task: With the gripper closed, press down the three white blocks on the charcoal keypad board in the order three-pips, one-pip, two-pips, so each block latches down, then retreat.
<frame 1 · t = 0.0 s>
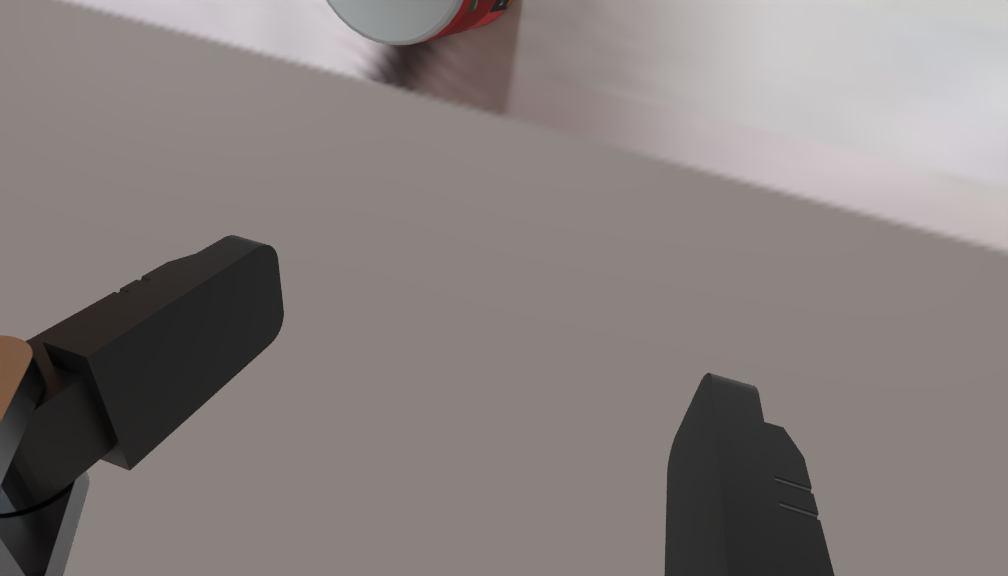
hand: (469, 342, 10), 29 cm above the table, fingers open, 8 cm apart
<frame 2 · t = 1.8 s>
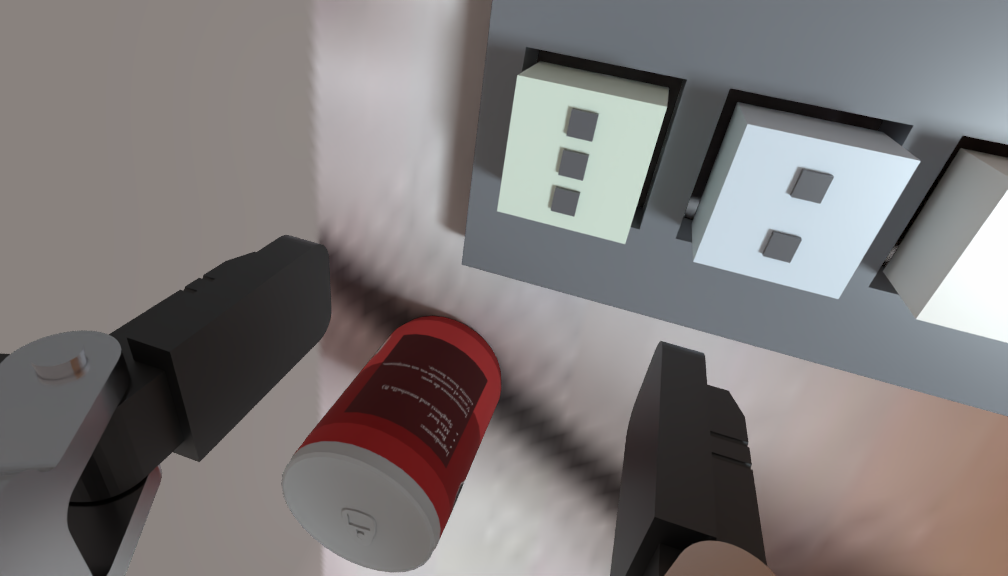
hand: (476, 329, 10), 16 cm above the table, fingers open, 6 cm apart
keypad board: (772, 167, 22), on the table
canned food: (447, 364, 33), on the table
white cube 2: (787, 198, 19), point 4 cm above the table, slide at 0.0 cm
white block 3: (581, 151, 20), point 4 cm above the table, slide at 0.0 cm
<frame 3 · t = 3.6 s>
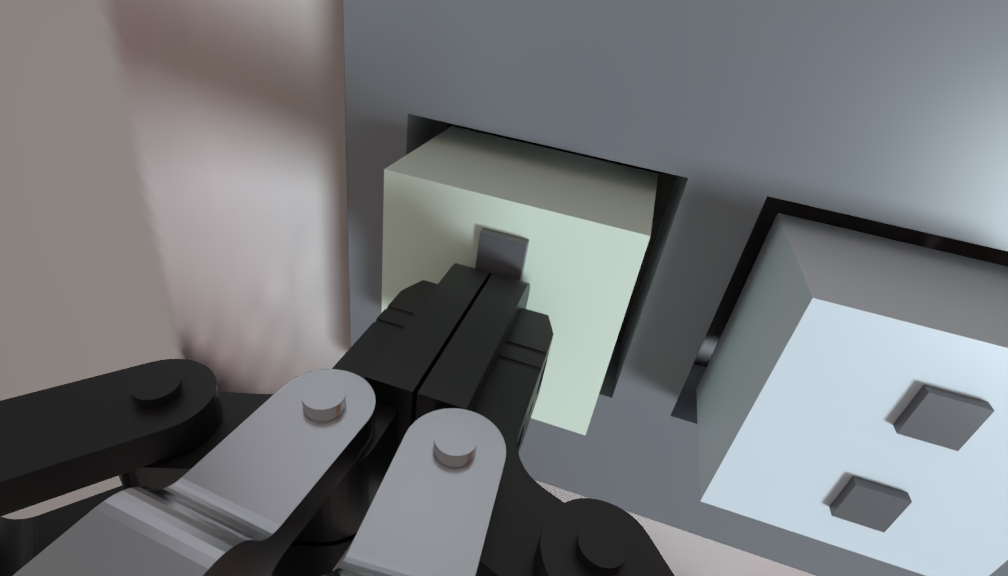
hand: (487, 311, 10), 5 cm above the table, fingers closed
keypad board: (828, 300, 13), on the table
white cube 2: (871, 395, 10), point 4 cm above the table, slide at 0.0 cm
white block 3: (514, 276, 12), point 3 cm above the table, slide at 0.8 cm, touching gripper
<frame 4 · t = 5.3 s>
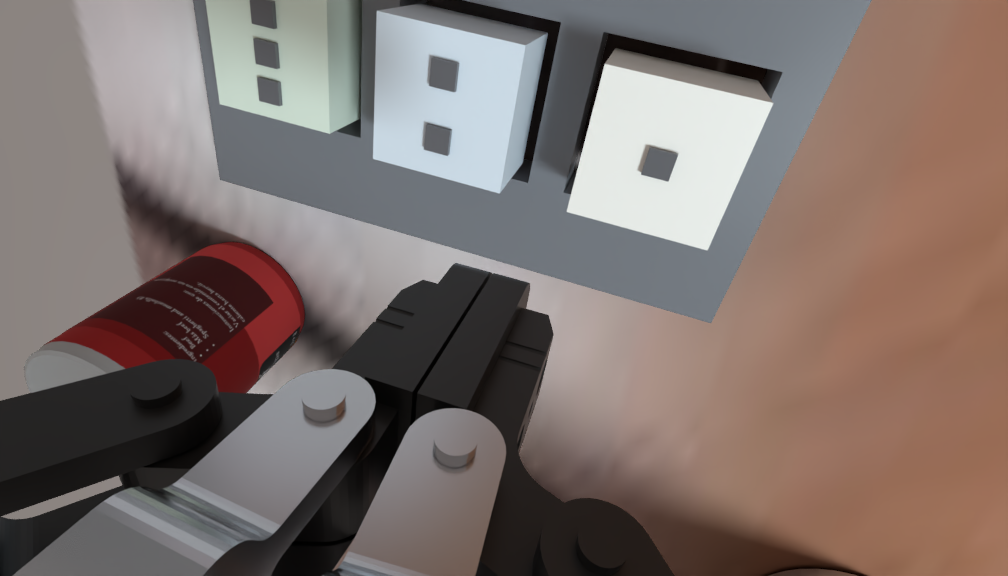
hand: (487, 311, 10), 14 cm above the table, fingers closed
keypad board: (487, 78, 22), on the table
canned food: (256, 293, 33), on the table
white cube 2: (458, 97, 19), point 4 cm above the table, slide at 0.0 cm
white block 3: (294, 47, 21), point 2 cm above the table, slide at 1.2 cm
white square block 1: (660, 148, 18), point 4 cm above the table, slide at 0.0 cm
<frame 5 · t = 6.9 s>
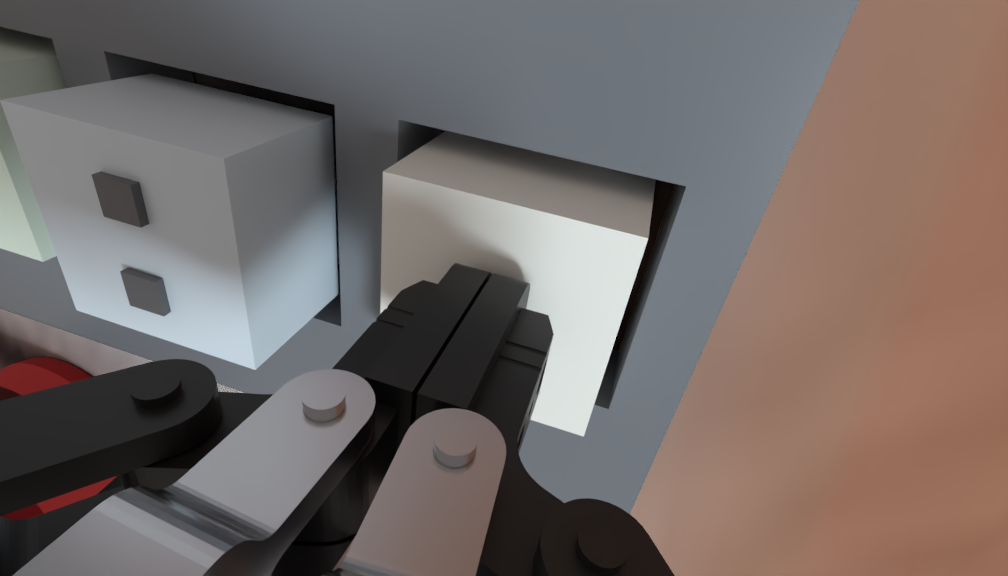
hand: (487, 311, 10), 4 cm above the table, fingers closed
keypad board: (292, 170, 15), on the table
canned food: (90, 413, 26), on the table
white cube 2: (198, 217, 12), point 4 cm above the table, slide at 0.0 cm
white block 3: (0, 135, 15), point 2 cm above the table, slide at 1.2 cm
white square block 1: (513, 277, 12), point 3 cm above the table, slide at 1.1 cm, touching gripper
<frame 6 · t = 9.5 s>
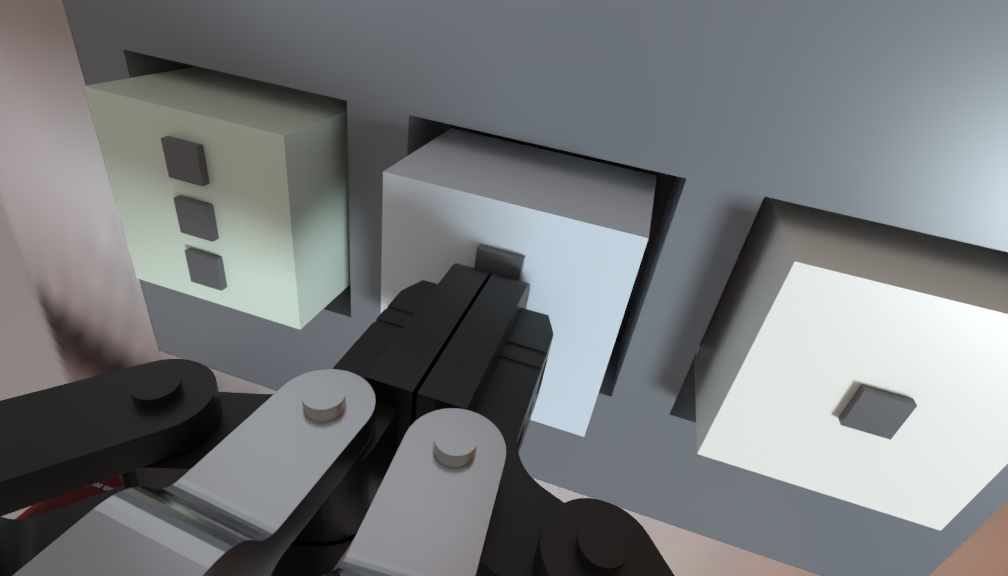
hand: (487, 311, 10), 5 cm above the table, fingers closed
keypad board: (542, 227, 15), on the table
canned food: (227, 454, 26), on the table
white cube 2: (513, 278, 12), point 3 cm above the table, slide at 0.7 cm, touching gripper
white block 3: (247, 193, 14), point 2 cm above the table, slide at 1.2 cm
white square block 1: (851, 357, 11), point 2 cm above the table, slide at 1.2 cm
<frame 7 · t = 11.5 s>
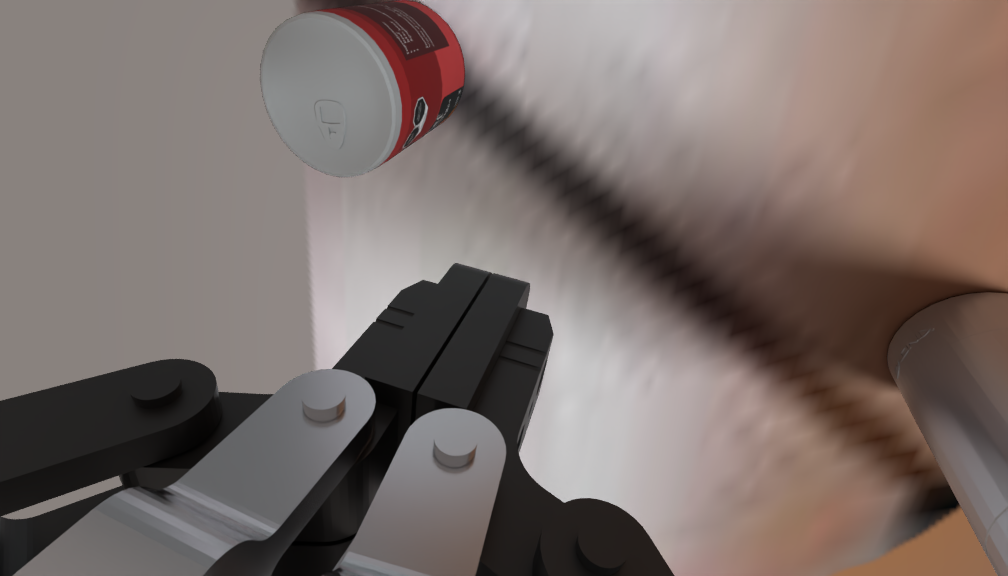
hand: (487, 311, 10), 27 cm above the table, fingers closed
canned food: (416, 66, 35), on the table
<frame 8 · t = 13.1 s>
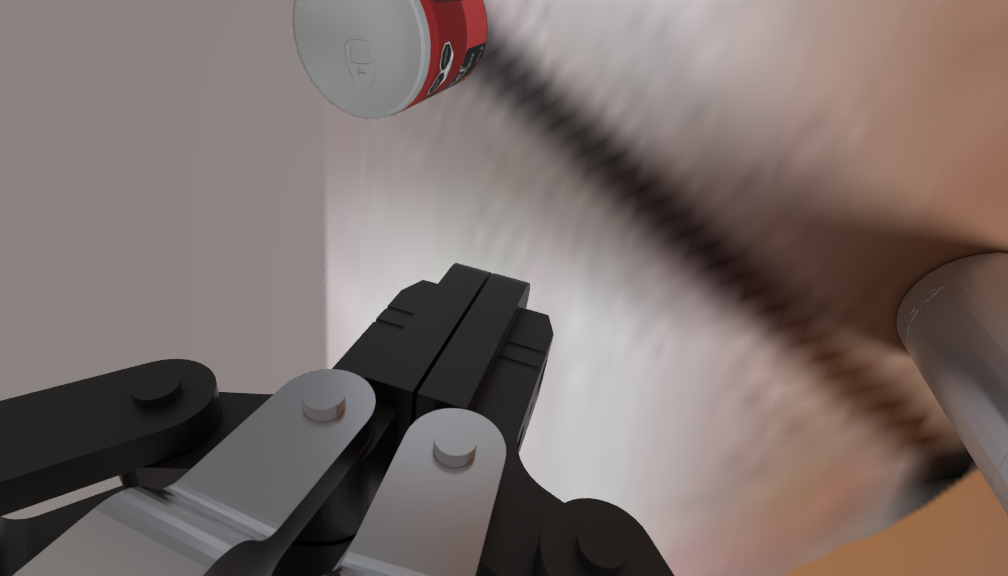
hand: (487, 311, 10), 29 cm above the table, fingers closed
canned food: (439, 24, 36), on the table
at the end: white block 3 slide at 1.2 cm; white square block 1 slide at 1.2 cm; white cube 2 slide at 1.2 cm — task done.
